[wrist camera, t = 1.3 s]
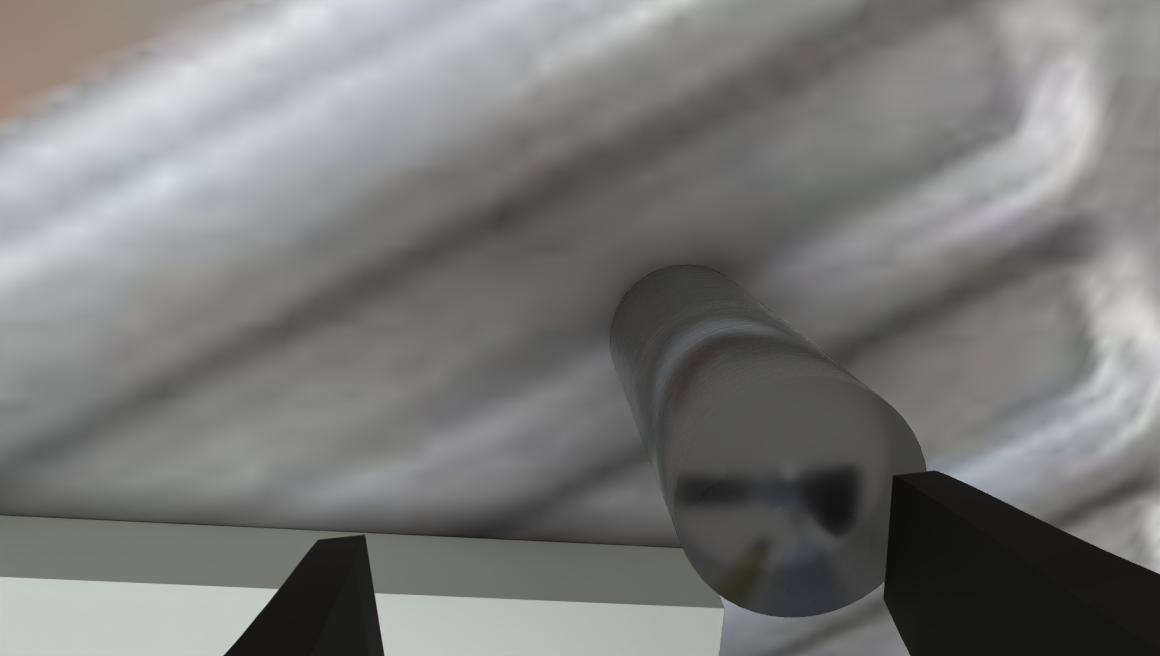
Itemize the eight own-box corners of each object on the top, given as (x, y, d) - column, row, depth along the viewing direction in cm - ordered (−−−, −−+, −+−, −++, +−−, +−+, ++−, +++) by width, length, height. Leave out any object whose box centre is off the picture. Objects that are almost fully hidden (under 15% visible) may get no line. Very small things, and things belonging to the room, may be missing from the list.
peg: (764, 270, 23) (947, 384, 13) (747, 413, 23) (907, 622, 14) (616, 259, 22) (688, 368, 13) (603, 404, 23) (662, 612, 13)
